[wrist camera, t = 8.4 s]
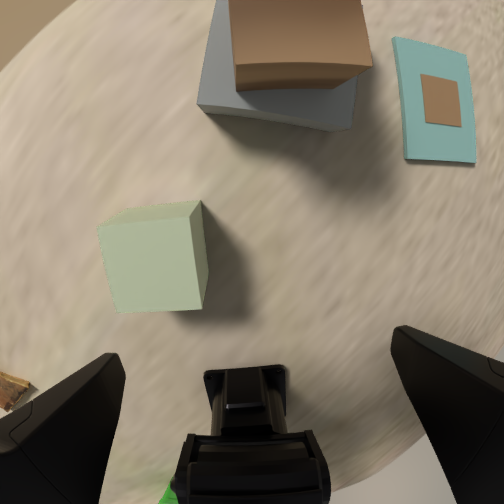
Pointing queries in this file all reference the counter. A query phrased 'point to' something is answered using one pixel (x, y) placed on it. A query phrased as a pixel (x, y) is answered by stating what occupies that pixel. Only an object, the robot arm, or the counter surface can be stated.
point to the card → (435, 102)
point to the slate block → (267, 101)
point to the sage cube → (156, 257)
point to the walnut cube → (297, 43)
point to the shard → (11, 390)
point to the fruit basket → (169, 497)
